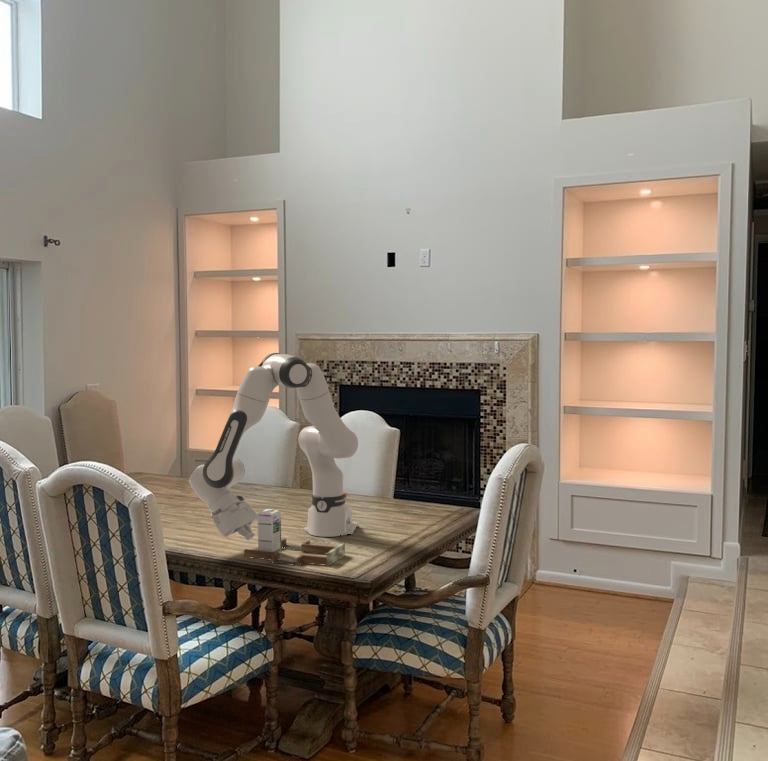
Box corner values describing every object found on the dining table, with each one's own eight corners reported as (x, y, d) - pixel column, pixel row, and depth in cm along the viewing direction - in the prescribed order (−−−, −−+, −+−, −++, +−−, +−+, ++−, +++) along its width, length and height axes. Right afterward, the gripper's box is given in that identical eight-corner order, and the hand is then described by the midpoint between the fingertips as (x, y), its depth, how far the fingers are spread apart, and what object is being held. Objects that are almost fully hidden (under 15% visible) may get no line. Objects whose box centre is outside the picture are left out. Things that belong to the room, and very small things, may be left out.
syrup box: (273, 557, 265) (272, 513, 264) (257, 555, 267) (257, 511, 266) (281, 552, 270) (281, 509, 269) (266, 550, 272) (265, 508, 271)
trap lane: (268, 543, 281) (267, 532, 280) (349, 551, 271) (349, 539, 271) (239, 559, 261) (239, 547, 261) (326, 568, 252) (326, 556, 252)
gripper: (215, 507, 262) (242, 539, 259) (245, 494, 281) (270, 524, 279) (203, 519, 263) (230, 551, 261) (233, 506, 283) (259, 536, 281)
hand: (251, 537), depth 270 cm, fingers closed
